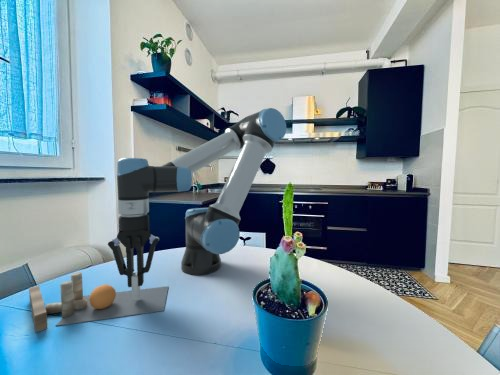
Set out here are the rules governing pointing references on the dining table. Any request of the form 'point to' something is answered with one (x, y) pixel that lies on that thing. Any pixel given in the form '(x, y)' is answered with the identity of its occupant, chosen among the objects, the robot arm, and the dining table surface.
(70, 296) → the pin
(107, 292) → the ball
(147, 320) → the dining table surface
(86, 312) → the mat
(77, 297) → the pin
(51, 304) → the front pin
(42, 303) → the back wall
